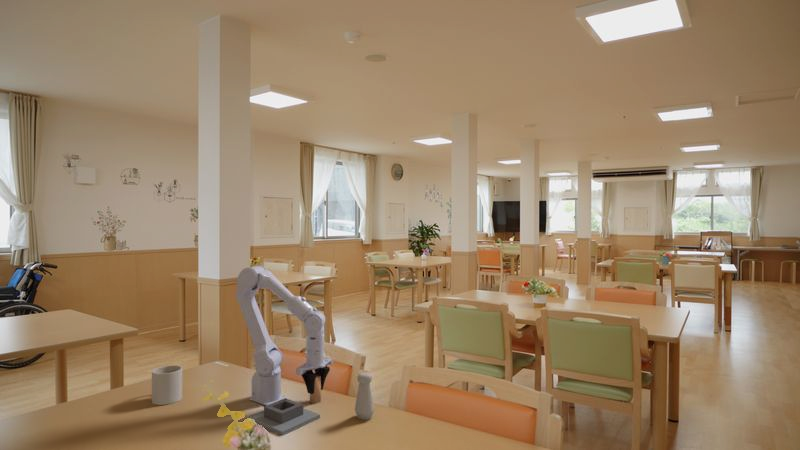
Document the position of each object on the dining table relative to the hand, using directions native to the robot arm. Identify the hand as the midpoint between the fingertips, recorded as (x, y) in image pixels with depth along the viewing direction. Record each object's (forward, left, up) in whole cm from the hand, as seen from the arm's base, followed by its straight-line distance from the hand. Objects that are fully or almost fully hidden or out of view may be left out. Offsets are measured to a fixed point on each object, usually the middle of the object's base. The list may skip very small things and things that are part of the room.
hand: (315, 391), depth 147 cm
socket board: (+3, -15, -3) cm, 16 cm away
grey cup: (-41, -27, -3) cm, 49 cm away
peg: (0, 0, -3) cm, 3 cm away
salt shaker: (+21, 0, -3) cm, 21 cm away
